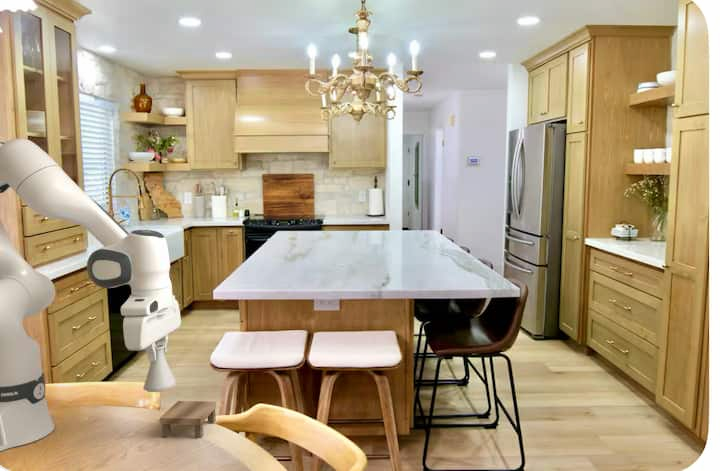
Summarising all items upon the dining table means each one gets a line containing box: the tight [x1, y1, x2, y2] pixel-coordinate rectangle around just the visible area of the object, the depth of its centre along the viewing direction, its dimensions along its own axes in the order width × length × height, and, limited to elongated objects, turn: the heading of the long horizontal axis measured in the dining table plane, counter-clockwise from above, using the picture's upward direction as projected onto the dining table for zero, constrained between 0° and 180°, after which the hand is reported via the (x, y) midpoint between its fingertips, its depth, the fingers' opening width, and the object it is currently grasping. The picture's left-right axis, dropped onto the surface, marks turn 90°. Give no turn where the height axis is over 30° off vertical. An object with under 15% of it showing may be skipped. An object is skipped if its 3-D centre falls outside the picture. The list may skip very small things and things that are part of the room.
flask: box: [142, 343, 178, 393], centre depth 129 cm, size 7×7×10 cm
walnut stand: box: [159, 400, 217, 439], centre depth 135 cm, size 10×10×5 cm
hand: (157, 357), depth 129 cm, fingers closed on flask, 3 cm apart
